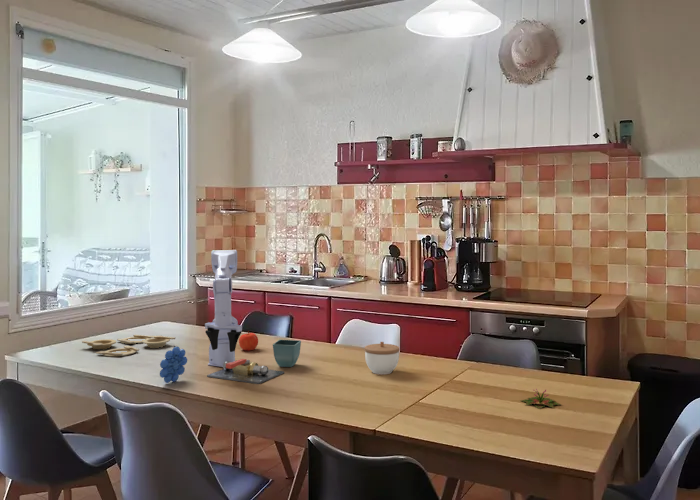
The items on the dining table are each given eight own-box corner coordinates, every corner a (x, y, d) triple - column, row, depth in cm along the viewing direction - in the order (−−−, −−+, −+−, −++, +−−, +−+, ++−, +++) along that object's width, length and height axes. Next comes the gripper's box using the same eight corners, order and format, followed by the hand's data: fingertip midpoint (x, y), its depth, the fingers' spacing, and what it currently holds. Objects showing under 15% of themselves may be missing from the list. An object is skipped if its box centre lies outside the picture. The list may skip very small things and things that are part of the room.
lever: (244, 362, 226) (244, 356, 226) (251, 363, 225) (251, 357, 225) (224, 369, 216) (224, 363, 216) (232, 370, 215) (232, 364, 215)
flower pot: (295, 369, 232) (294, 345, 231) (272, 367, 233) (272, 344, 233) (301, 363, 240) (301, 340, 240) (279, 362, 242) (279, 339, 241)
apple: (262, 349, 265) (262, 330, 265) (249, 352, 258) (249, 333, 258) (248, 347, 269) (247, 328, 269) (235, 350, 263) (234, 331, 262)
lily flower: (538, 413, 182) (538, 397, 182) (511, 401, 193) (511, 387, 193) (570, 407, 187) (570, 392, 187) (542, 397, 198) (542, 382, 198)
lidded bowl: (404, 369, 230) (404, 340, 229) (391, 378, 219) (392, 346, 218) (372, 366, 235) (372, 337, 235) (359, 374, 224) (359, 343, 223)
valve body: (207, 376, 221) (206, 364, 221) (234, 366, 235) (234, 355, 235) (259, 384, 211) (258, 371, 211) (284, 373, 226) (284, 361, 225)
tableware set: (142, 337, 292) (142, 328, 292) (183, 345, 275) (183, 336, 275) (71, 351, 264) (71, 341, 264) (112, 360, 247) (112, 350, 247)
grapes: (178, 376, 222) (177, 342, 221) (191, 378, 218) (191, 344, 217) (151, 383, 212) (151, 348, 211) (165, 386, 208) (164, 351, 208)
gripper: (199, 312, 219) (199, 350, 220) (233, 315, 213) (233, 354, 214) (211, 309, 225) (212, 346, 226) (245, 312, 219) (245, 350, 220)
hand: (223, 350), depth 220 cm, fingers open, 7 cm apart
